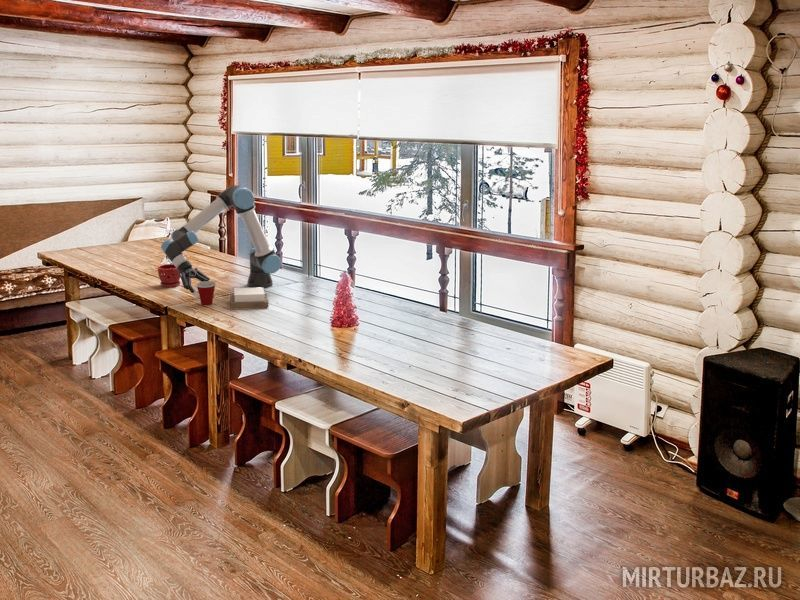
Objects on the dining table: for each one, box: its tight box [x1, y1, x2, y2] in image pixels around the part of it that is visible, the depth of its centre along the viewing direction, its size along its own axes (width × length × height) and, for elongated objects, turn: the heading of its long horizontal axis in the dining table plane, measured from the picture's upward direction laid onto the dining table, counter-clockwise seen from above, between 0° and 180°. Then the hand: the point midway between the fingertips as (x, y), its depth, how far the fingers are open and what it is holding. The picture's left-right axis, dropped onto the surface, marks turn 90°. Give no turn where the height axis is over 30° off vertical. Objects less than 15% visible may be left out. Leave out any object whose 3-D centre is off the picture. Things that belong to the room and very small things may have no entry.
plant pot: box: [157, 263, 181, 288], centre depth 479 cm, size 13×13×12 cm
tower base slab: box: [229, 292, 269, 310], centre depth 444 cm, size 20×20×4 cm
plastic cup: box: [195, 280, 217, 306], centre depth 439 cm, size 11×11×12 cm
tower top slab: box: [233, 287, 265, 302], centre depth 443 cm, size 16×16×4 cm
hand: (205, 294), depth 438 cm, fingers open, 13 cm apart
